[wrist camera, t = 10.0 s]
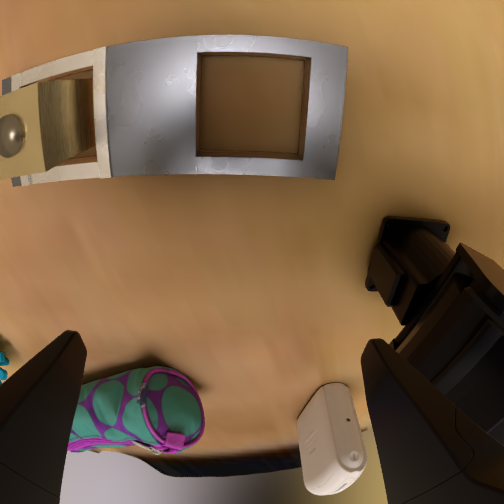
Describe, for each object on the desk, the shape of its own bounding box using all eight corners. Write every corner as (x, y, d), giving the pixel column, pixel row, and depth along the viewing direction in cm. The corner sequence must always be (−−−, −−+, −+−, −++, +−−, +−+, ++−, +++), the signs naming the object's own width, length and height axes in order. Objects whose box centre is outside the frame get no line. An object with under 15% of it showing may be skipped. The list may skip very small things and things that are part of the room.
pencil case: (156, 341, 26) (136, 431, 18) (209, 387, 30) (205, 465, 22) (53, 378, 31) (31, 435, 23) (98, 412, 35) (84, 466, 27)
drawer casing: (338, 50, 14) (349, 46, 12) (326, 171, 18) (335, 180, 16) (17, 78, 13) (0, 80, 11) (26, 178, 17) (11, 187, 15)
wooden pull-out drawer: (97, 78, 14) (34, 82, 8) (100, 142, 17) (42, 173, 11) (45, 91, 14) (-21, 105, 8) (50, 150, 16) (-12, 183, 11)
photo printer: (319, 381, 30) (339, 482, 19) (353, 381, 31) (378, 475, 20) (291, 421, 35) (301, 502, 25) (320, 420, 36) (334, 498, 25)
